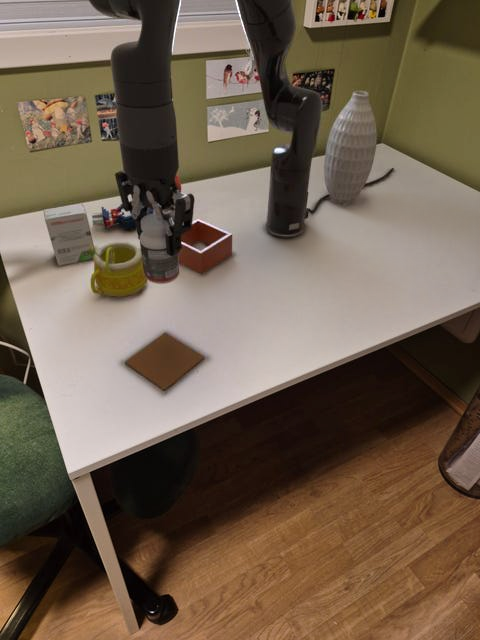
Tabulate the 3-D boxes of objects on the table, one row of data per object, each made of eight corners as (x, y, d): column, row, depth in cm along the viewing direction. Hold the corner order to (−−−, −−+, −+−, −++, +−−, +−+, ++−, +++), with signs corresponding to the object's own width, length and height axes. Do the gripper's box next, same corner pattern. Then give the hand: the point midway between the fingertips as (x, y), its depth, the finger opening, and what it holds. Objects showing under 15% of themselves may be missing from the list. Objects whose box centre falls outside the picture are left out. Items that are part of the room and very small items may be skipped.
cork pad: (165, 334, 88) (165, 332, 88) (204, 358, 84) (204, 356, 84) (124, 363, 83) (124, 361, 82) (164, 391, 78) (164, 389, 78)
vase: (370, 197, 133) (395, 91, 115) (353, 215, 125) (376, 104, 107) (330, 185, 138) (346, 82, 120) (311, 202, 130) (326, 94, 111)
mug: (125, 264, 105) (117, 216, 97) (159, 283, 100) (153, 234, 92) (77, 290, 98) (65, 240, 90) (111, 312, 93) (101, 262, 85)
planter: (198, 238, 114) (197, 218, 111) (232, 254, 109) (232, 233, 106) (167, 256, 108) (165, 236, 104) (201, 274, 103) (200, 253, 100)
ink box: (93, 248, 110) (83, 202, 102) (97, 259, 107) (87, 212, 99) (55, 255, 107) (42, 208, 100) (57, 266, 104) (44, 219, 96)
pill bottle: (145, 265, 78) (138, 211, 71) (180, 264, 78) (176, 210, 72) (143, 285, 73) (135, 230, 67) (179, 285, 74) (175, 229, 67)
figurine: (90, 204, 117) (150, 198, 120) (93, 219, 120) (151, 212, 123) (92, 221, 111) (155, 214, 114) (95, 236, 114) (156, 229, 117)
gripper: (208, 142, 60) (210, 253, 71) (133, 116, 67) (145, 221, 78) (166, 159, 56) (175, 274, 67) (90, 129, 62) (109, 239, 73)
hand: (159, 245), depth 72 cm, fingers closed on pill bottle, 5 cm apart
